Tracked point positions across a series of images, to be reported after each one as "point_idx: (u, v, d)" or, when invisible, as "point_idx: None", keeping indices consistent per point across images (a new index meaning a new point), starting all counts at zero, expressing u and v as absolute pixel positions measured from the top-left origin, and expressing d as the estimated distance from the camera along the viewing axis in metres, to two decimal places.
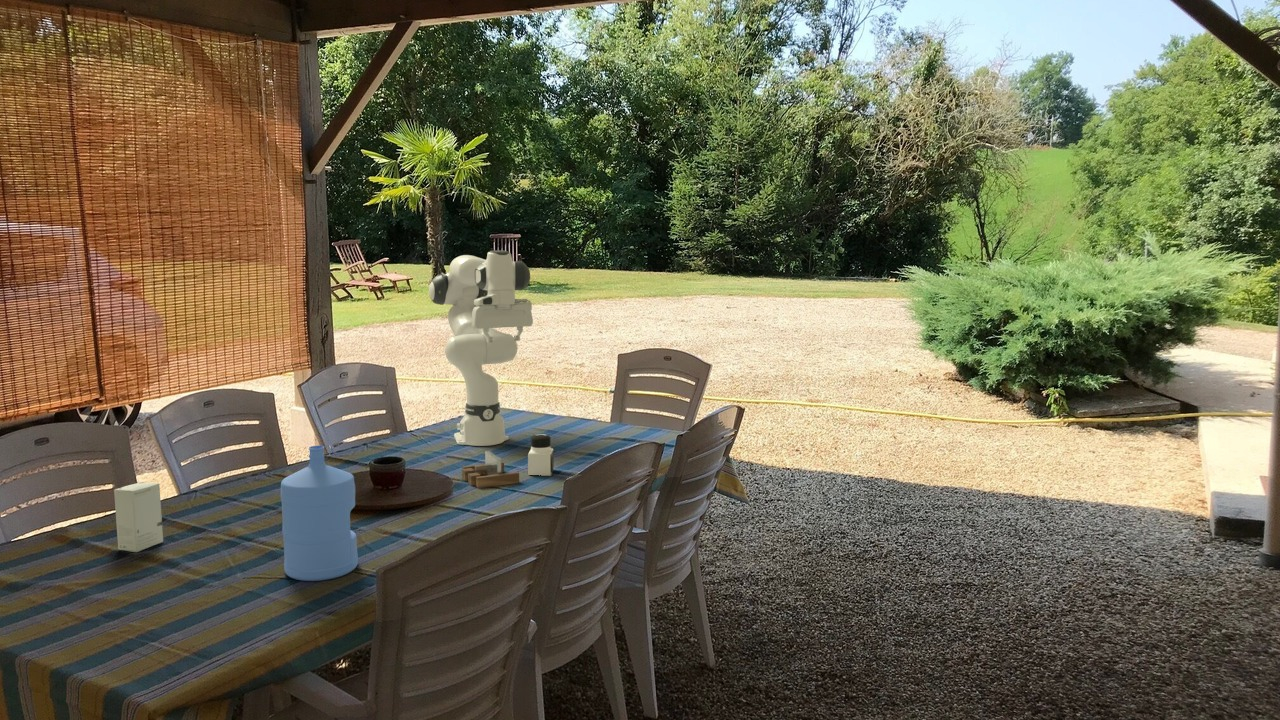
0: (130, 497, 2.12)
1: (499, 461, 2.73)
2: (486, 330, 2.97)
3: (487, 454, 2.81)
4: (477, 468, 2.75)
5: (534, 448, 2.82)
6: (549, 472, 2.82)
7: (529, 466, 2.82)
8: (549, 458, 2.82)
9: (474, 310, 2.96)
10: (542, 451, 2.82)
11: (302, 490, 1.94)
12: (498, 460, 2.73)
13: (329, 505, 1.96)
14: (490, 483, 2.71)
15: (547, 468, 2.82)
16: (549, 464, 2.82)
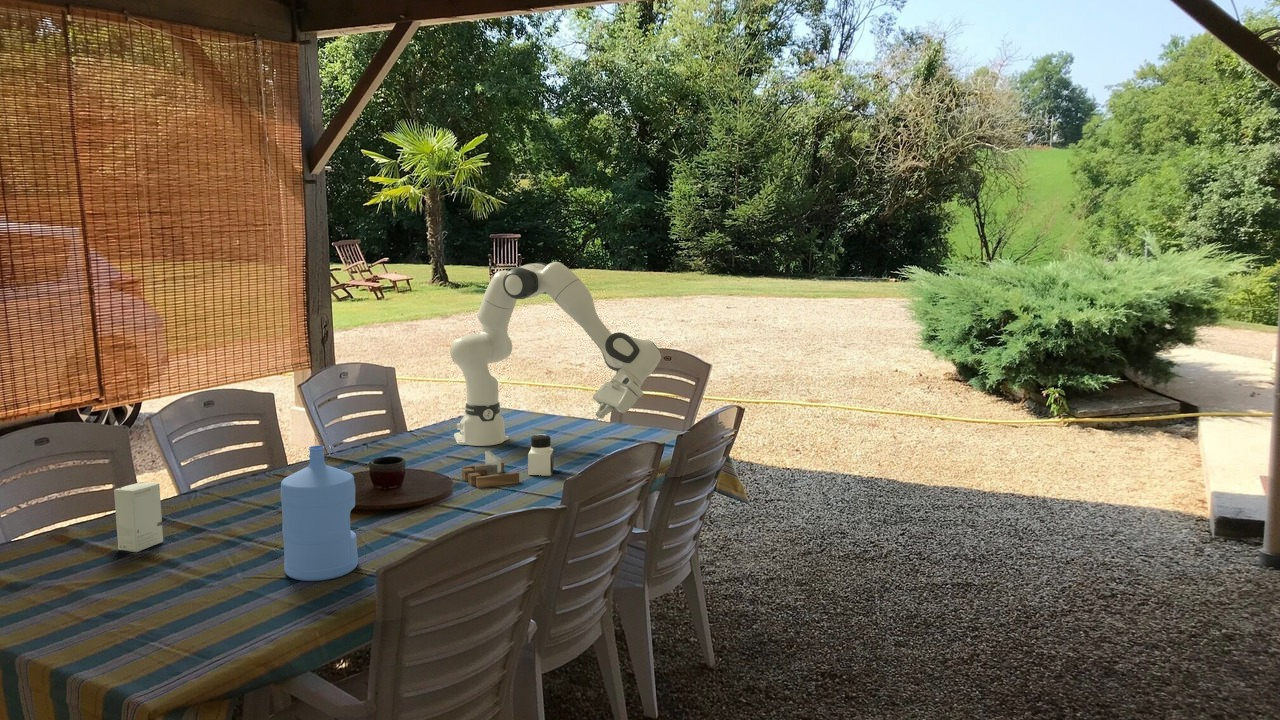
0: (130, 497, 2.12)
1: (499, 461, 2.73)
2: None
3: (487, 454, 2.81)
4: (477, 468, 2.75)
5: (534, 448, 2.82)
6: (549, 472, 2.82)
7: (529, 466, 2.82)
8: (549, 458, 2.82)
9: (632, 396, 2.87)
10: (542, 451, 2.82)
11: (302, 490, 1.94)
12: (498, 460, 2.73)
13: (329, 505, 1.96)
14: (490, 483, 2.71)
15: (547, 468, 2.82)
16: (549, 464, 2.82)
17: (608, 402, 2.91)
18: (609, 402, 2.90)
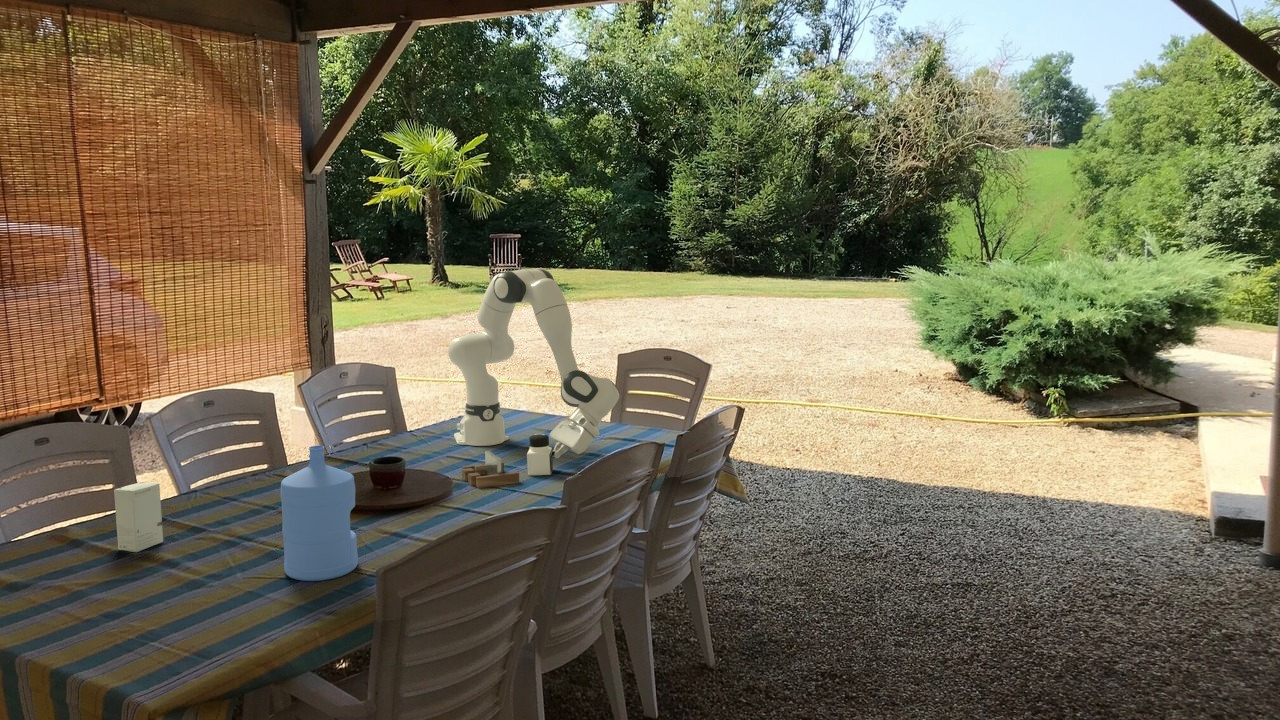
0: (131, 497, 2.12)
1: (499, 461, 2.73)
2: None
3: (487, 454, 2.81)
4: (477, 468, 2.75)
5: (533, 448, 2.82)
6: (549, 471, 2.82)
7: (528, 466, 2.82)
8: (548, 457, 2.82)
9: (587, 437, 2.82)
10: (541, 450, 2.82)
11: (302, 490, 1.94)
12: (498, 460, 2.73)
13: (329, 505, 1.96)
14: (490, 483, 2.71)
15: (546, 467, 2.82)
16: (548, 463, 2.82)
17: (564, 442, 2.85)
18: (565, 442, 2.85)
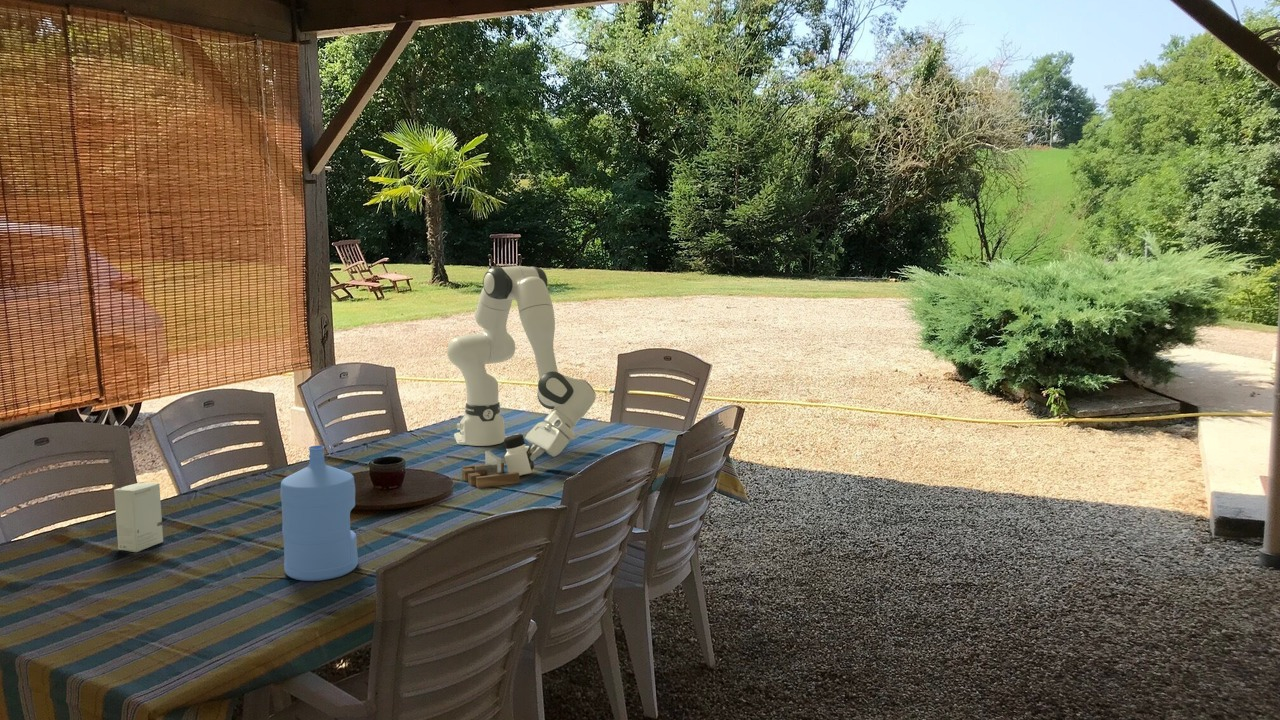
0: (130, 497, 2.12)
1: (499, 461, 2.73)
2: None
3: (487, 454, 2.81)
4: (477, 468, 2.75)
5: (509, 449, 2.79)
6: (529, 469, 2.79)
7: (508, 468, 2.79)
8: (526, 455, 2.79)
9: (563, 439, 2.78)
10: (517, 450, 2.79)
11: (302, 490, 1.94)
12: (498, 460, 2.73)
13: (329, 505, 1.96)
14: (490, 483, 2.71)
15: (526, 466, 2.79)
16: (527, 461, 2.79)
17: (539, 444, 2.81)
18: (540, 444, 2.81)
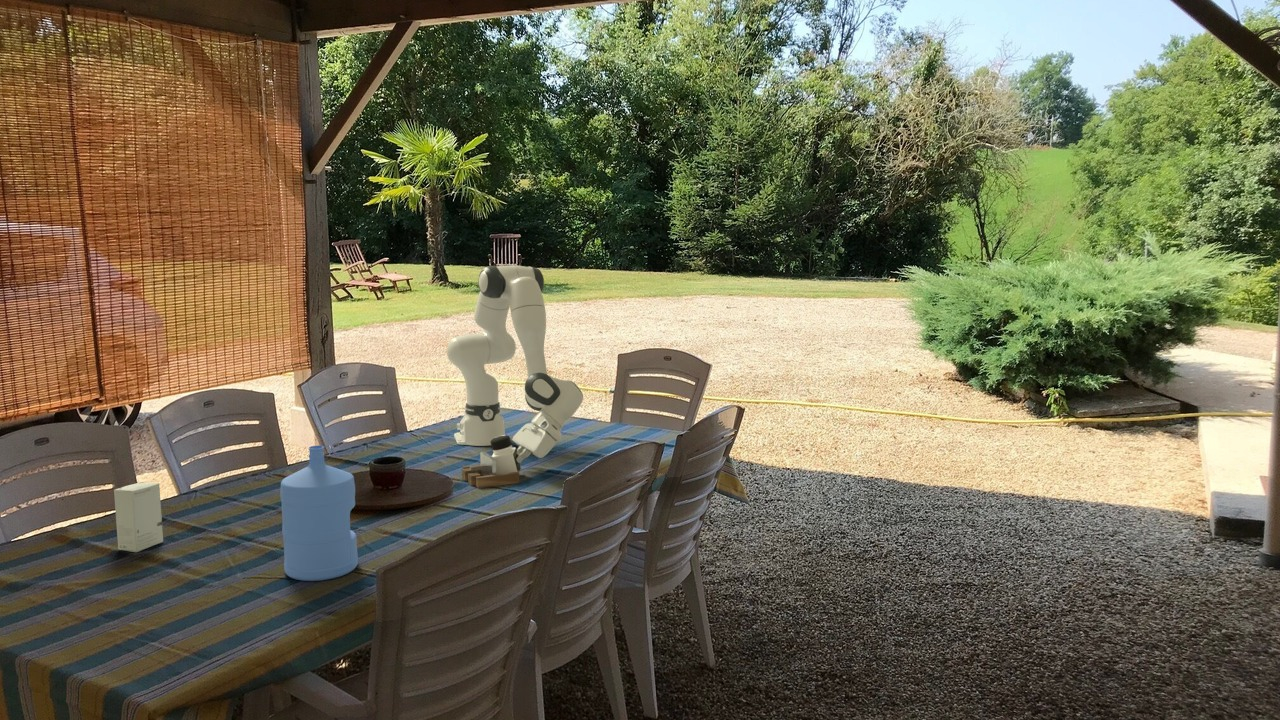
0: (130, 497, 2.12)
1: (494, 462, 2.72)
2: None
3: (482, 455, 2.80)
4: (472, 469, 2.75)
5: (495, 451, 2.78)
6: (516, 471, 2.77)
7: None
8: (512, 457, 2.77)
9: (549, 440, 2.76)
10: (504, 452, 2.78)
11: (301, 490, 1.94)
12: (493, 461, 2.72)
13: (329, 505, 1.96)
14: (490, 483, 2.71)
15: (513, 468, 2.77)
16: (514, 463, 2.77)
17: (526, 446, 2.79)
18: (526, 446, 2.79)
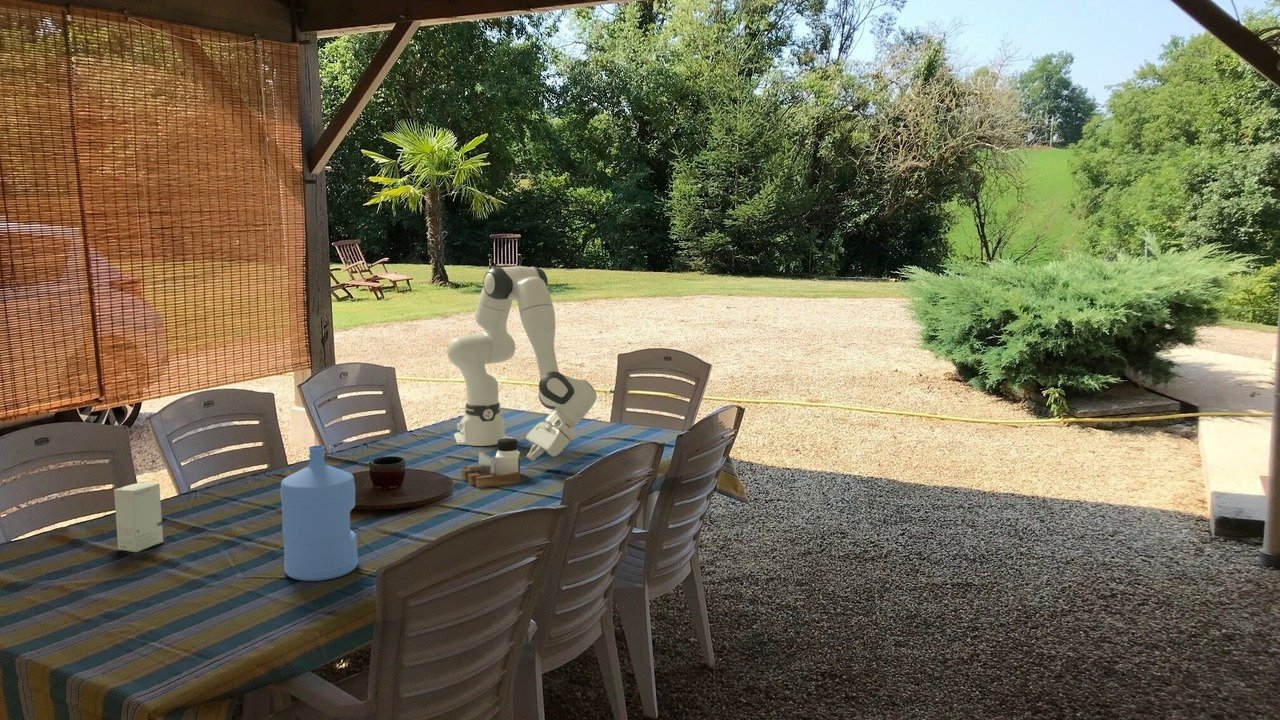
0: (131, 497, 2.12)
1: (492, 462, 2.72)
2: None
3: (480, 455, 2.80)
4: (470, 469, 2.74)
5: (501, 452, 2.78)
6: None
7: (496, 470, 2.77)
8: (517, 461, 2.77)
9: (563, 439, 2.78)
10: (509, 454, 2.78)
11: (302, 490, 1.94)
12: (491, 461, 2.72)
13: (329, 505, 1.96)
14: (490, 483, 2.71)
15: None
16: (517, 467, 2.78)
17: (539, 444, 2.82)
18: (540, 444, 2.81)
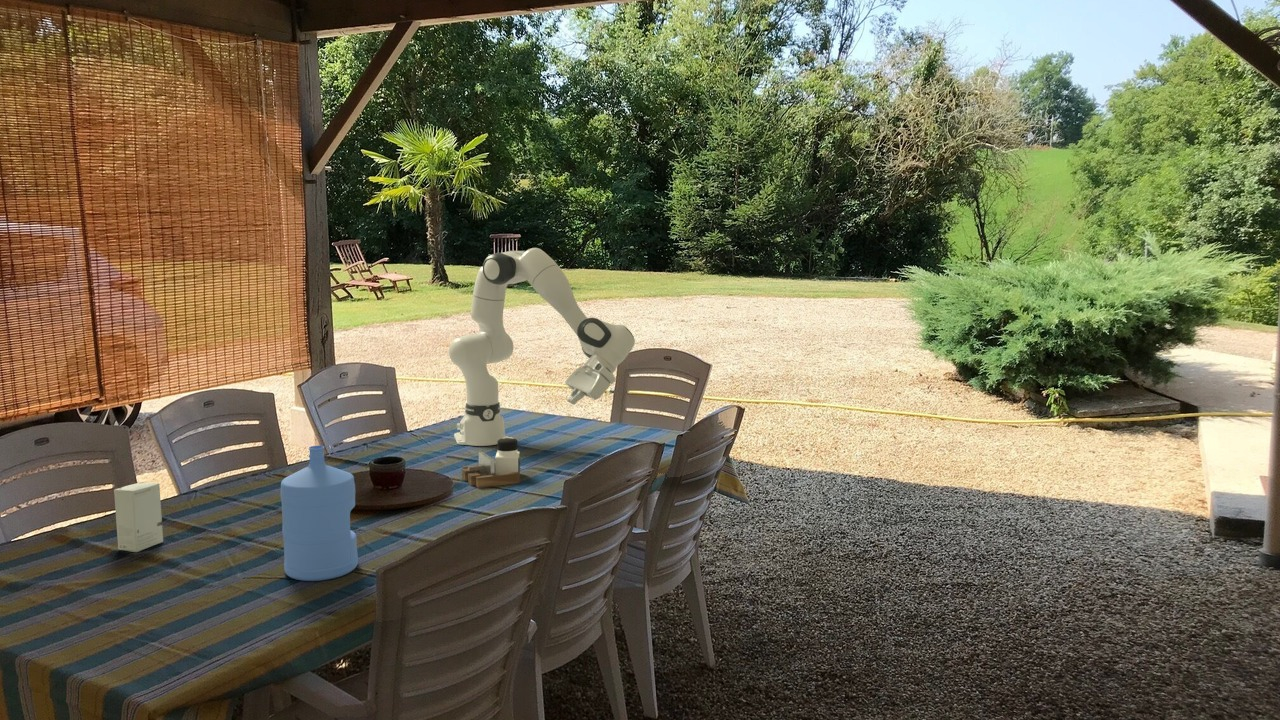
0: (130, 497, 2.12)
1: (492, 462, 2.72)
2: None
3: (480, 455, 2.80)
4: (470, 469, 2.74)
5: (501, 452, 2.78)
6: None
7: (496, 470, 2.77)
8: (517, 461, 2.77)
9: (604, 382, 2.82)
10: (509, 454, 2.78)
11: (302, 490, 1.94)
12: (491, 461, 2.72)
13: (329, 505, 1.96)
14: (490, 483, 2.71)
15: None
16: (517, 467, 2.78)
17: (580, 388, 2.86)
18: (581, 388, 2.86)
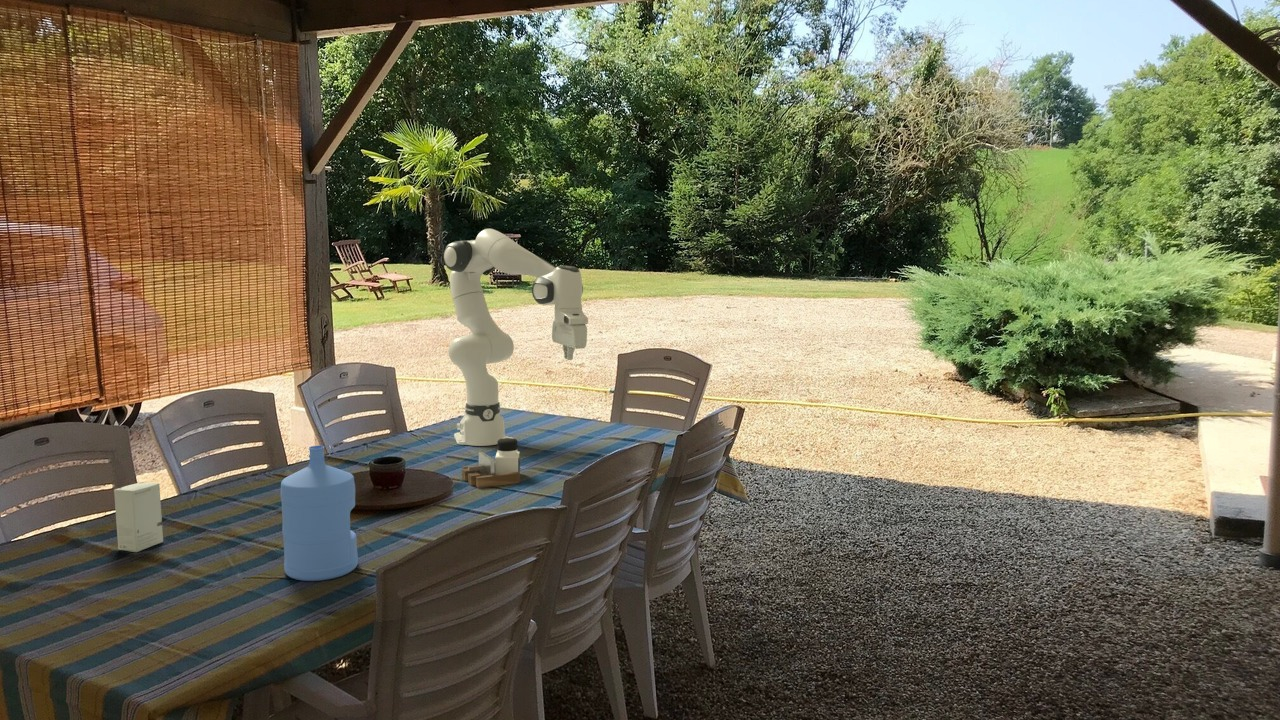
0: (130, 497, 2.12)
1: (492, 462, 2.72)
2: None
3: (480, 455, 2.80)
4: (470, 469, 2.74)
5: (501, 452, 2.78)
6: None
7: (496, 470, 2.77)
8: (517, 461, 2.77)
9: (580, 329, 2.84)
10: (509, 454, 2.78)
11: (302, 490, 1.94)
12: (491, 461, 2.72)
13: (329, 505, 1.96)
14: (490, 483, 2.71)
15: None
16: (517, 467, 2.78)
17: (566, 344, 2.90)
18: (567, 344, 2.90)
